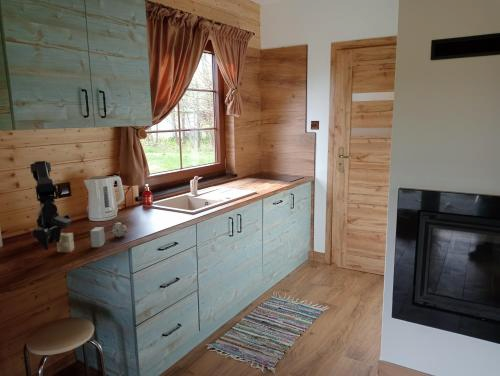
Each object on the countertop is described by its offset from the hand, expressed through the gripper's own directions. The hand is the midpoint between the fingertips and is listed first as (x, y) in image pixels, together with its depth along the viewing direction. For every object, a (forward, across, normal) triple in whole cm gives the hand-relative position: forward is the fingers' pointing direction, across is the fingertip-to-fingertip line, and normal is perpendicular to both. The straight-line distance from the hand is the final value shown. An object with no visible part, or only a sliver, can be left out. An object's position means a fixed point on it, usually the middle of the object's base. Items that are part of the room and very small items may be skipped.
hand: (52, 246), depth 178 cm
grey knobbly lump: (+6, +31, -18) cm, 36 cm away
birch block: (+6, +11, 0) cm, 13 cm away
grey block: (+6, +19, -12) cm, 23 cm away
